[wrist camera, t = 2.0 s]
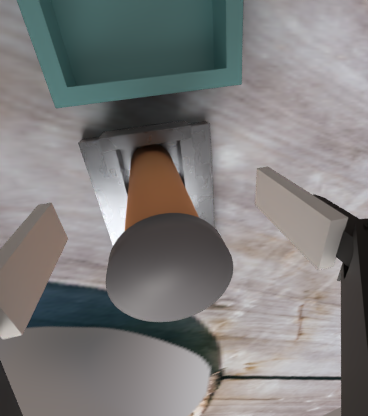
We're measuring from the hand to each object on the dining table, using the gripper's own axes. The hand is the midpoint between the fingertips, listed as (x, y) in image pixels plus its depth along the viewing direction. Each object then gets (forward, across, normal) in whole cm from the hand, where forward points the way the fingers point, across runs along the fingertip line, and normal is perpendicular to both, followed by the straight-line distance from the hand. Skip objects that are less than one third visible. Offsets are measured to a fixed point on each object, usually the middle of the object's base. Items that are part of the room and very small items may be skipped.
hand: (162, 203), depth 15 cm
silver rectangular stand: (+10, 0, -5) cm, 11 cm away
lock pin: (+8, 0, 0) cm, 8 cm away
